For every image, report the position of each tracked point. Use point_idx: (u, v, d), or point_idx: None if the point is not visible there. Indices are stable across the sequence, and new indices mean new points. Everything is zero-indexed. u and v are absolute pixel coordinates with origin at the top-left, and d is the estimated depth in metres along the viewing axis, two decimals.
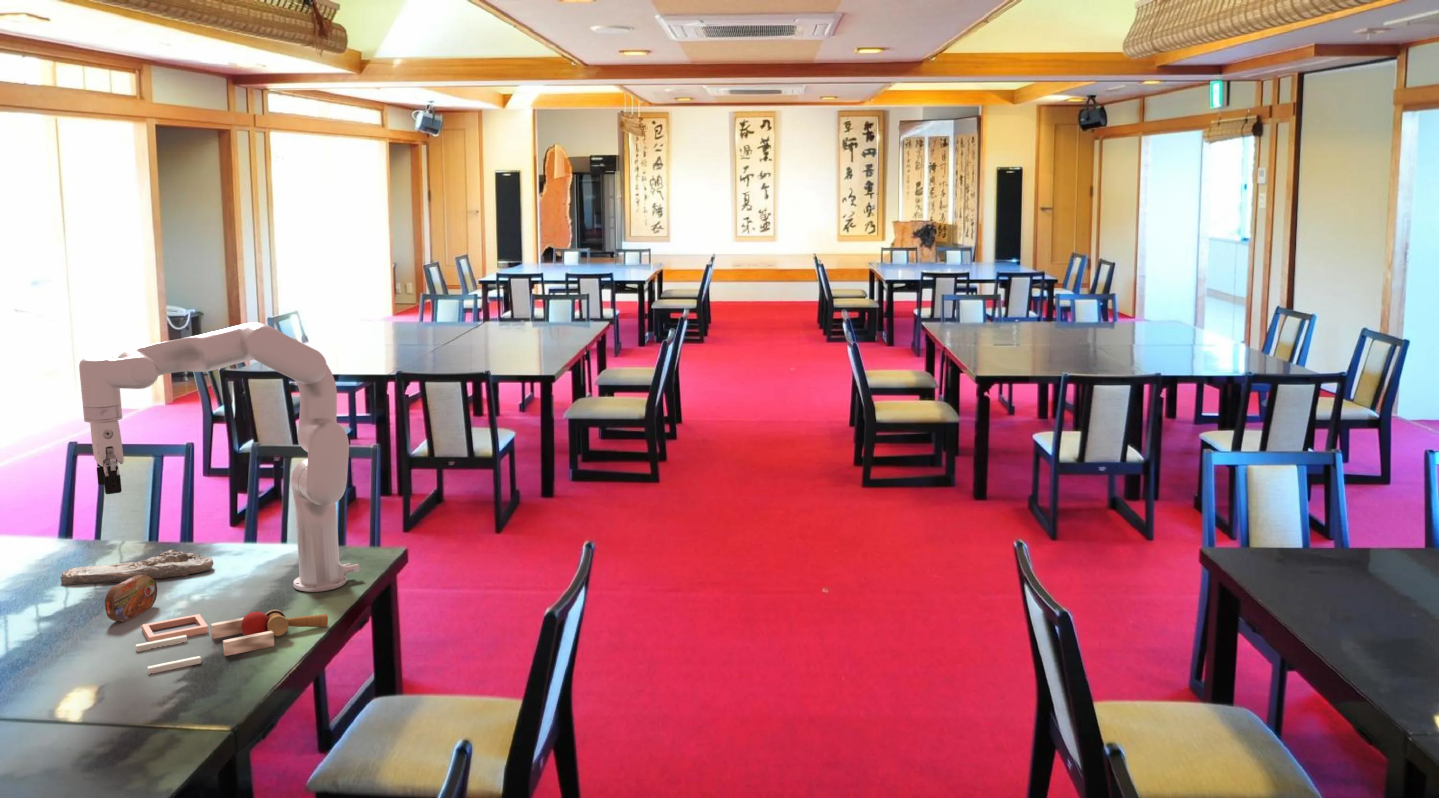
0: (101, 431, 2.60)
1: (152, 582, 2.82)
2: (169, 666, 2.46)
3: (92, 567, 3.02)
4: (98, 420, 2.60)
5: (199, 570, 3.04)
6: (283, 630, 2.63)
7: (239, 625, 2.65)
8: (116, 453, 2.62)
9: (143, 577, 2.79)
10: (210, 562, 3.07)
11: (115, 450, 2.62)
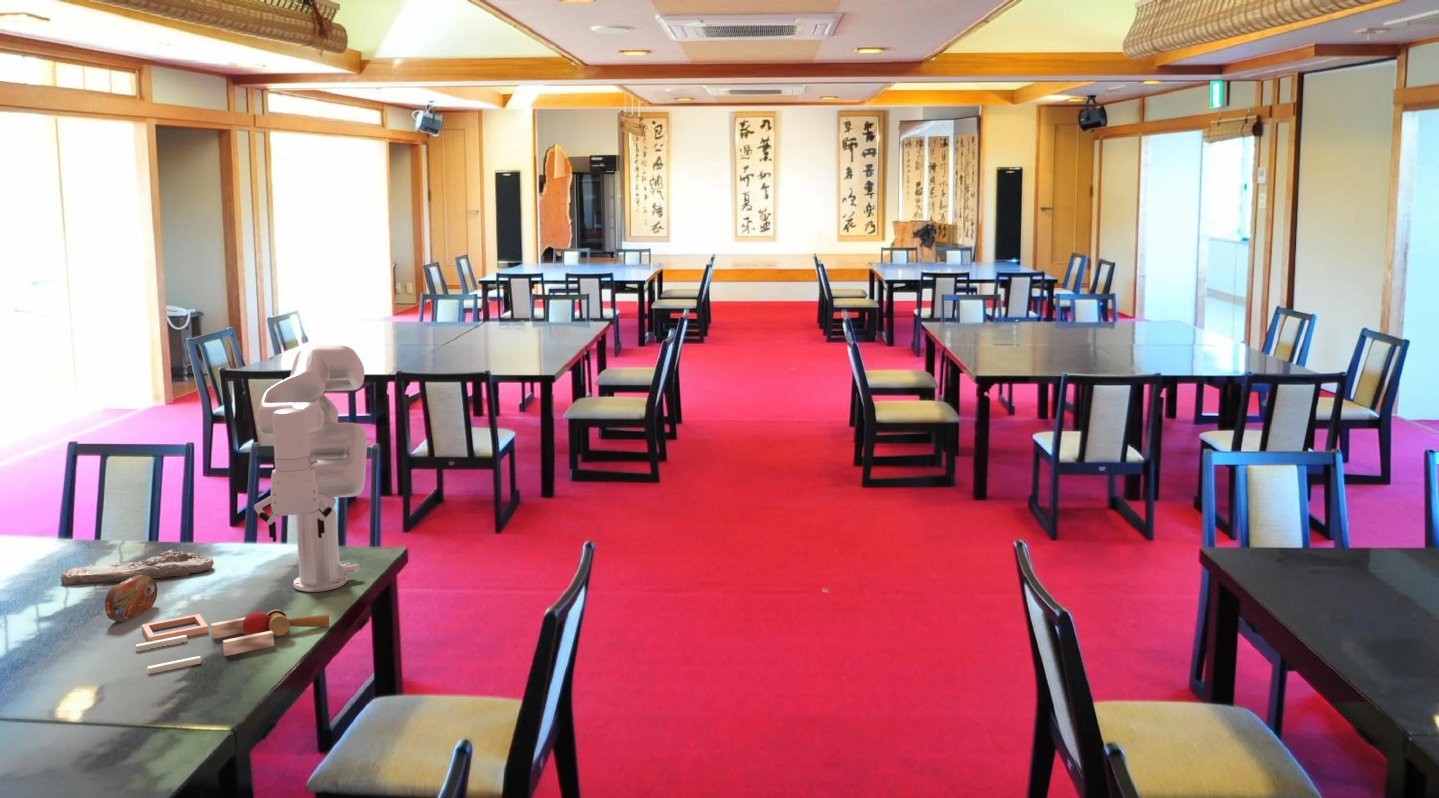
0: (315, 477, 2.68)
1: (152, 582, 2.82)
2: (169, 666, 2.46)
3: (92, 567, 3.02)
4: (309, 468, 2.67)
5: (199, 570, 3.05)
6: (285, 630, 2.63)
7: (239, 625, 2.65)
8: None
9: (143, 577, 2.79)
10: (210, 562, 3.07)
11: None
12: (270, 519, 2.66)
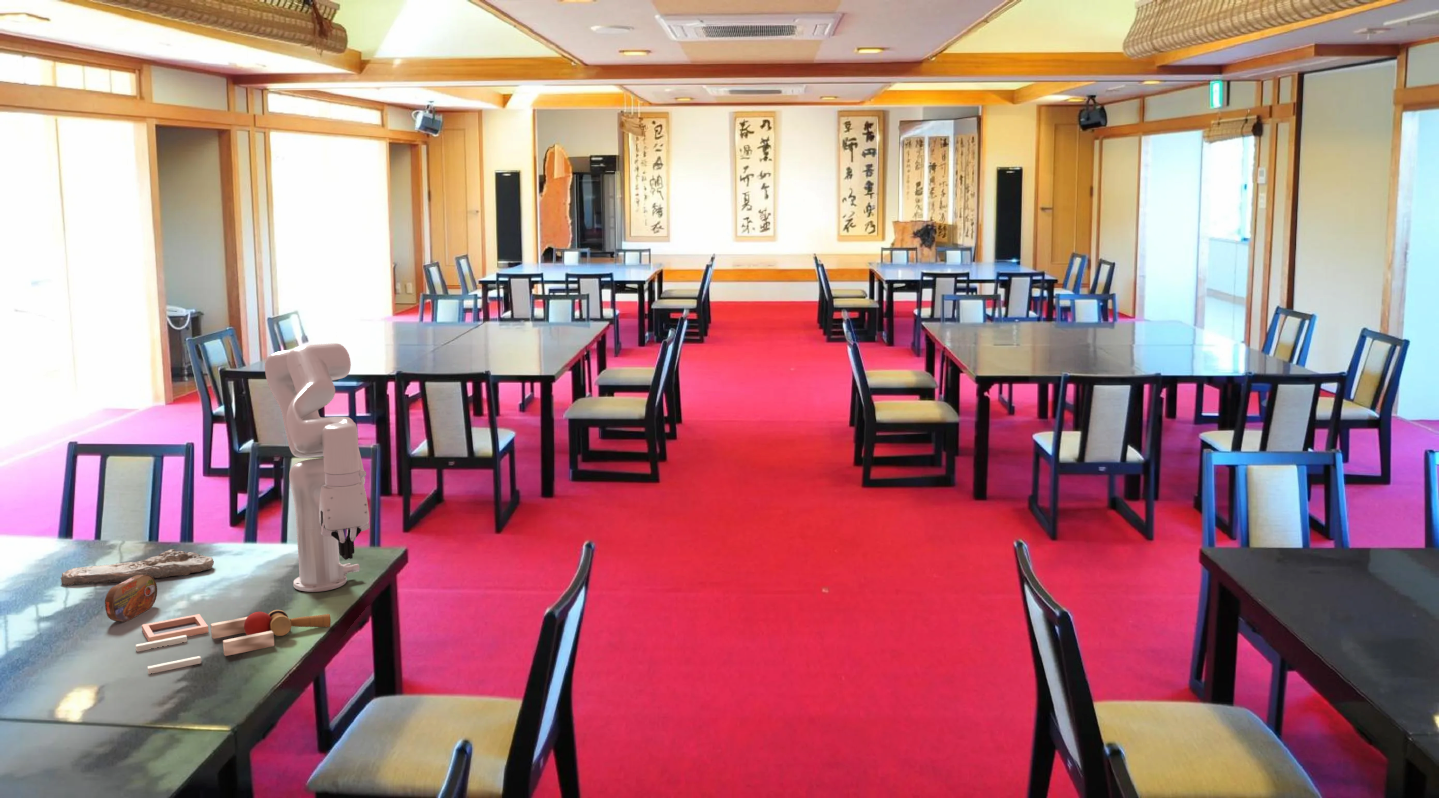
0: None
1: (152, 582, 2.82)
2: (169, 666, 2.46)
3: (92, 567, 3.01)
4: (360, 481, 2.69)
5: (199, 569, 3.05)
6: (286, 630, 2.63)
7: (239, 625, 2.65)
8: None
9: (143, 577, 2.79)
10: (211, 561, 3.07)
11: None
12: (340, 538, 2.69)
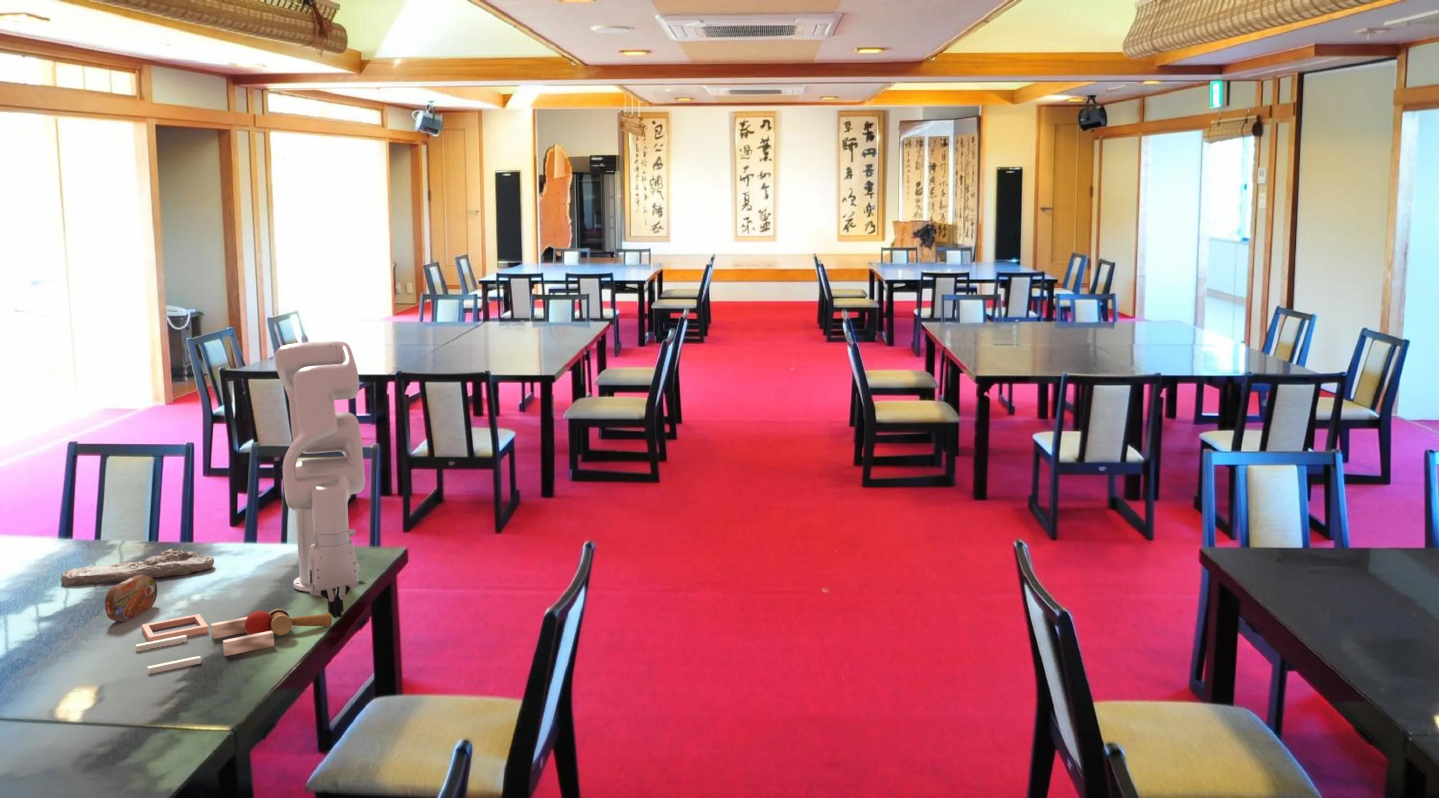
0: None
1: (152, 582, 2.82)
2: (169, 666, 2.46)
3: (92, 568, 3.01)
4: (349, 540, 2.70)
5: (200, 568, 3.06)
6: (287, 629, 2.63)
7: (239, 625, 2.65)
8: None
9: (143, 577, 2.79)
10: (211, 560, 3.08)
11: None
12: (330, 597, 2.69)
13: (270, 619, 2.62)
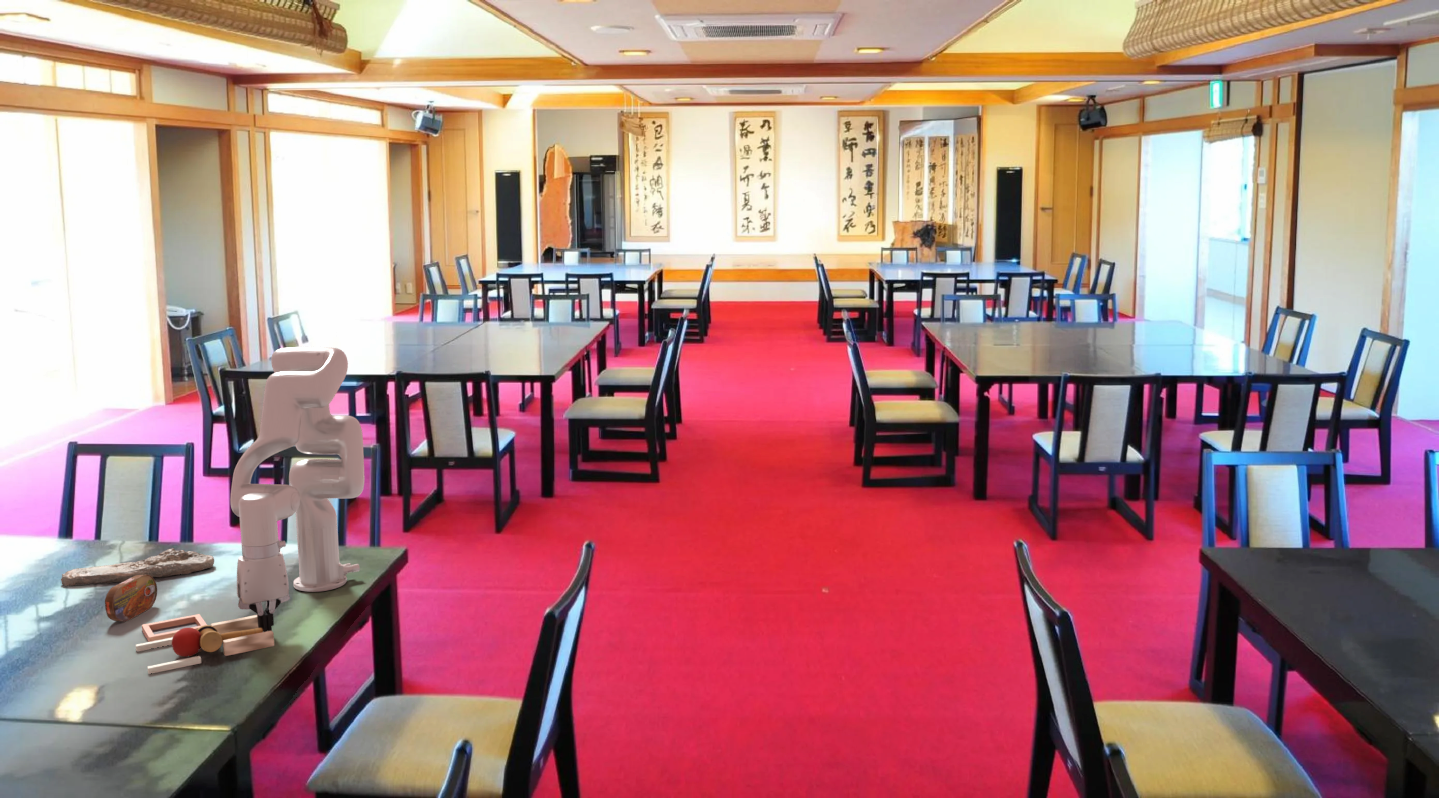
0: (284, 561, 2.62)
1: (152, 582, 2.82)
2: (169, 666, 2.46)
3: (92, 568, 3.01)
4: (279, 552, 2.61)
5: (201, 568, 3.06)
6: (217, 646, 2.53)
7: (239, 625, 2.65)
8: None
9: (143, 577, 2.79)
10: (212, 560, 3.09)
11: None
12: (259, 610, 2.61)
13: (199, 636, 2.53)
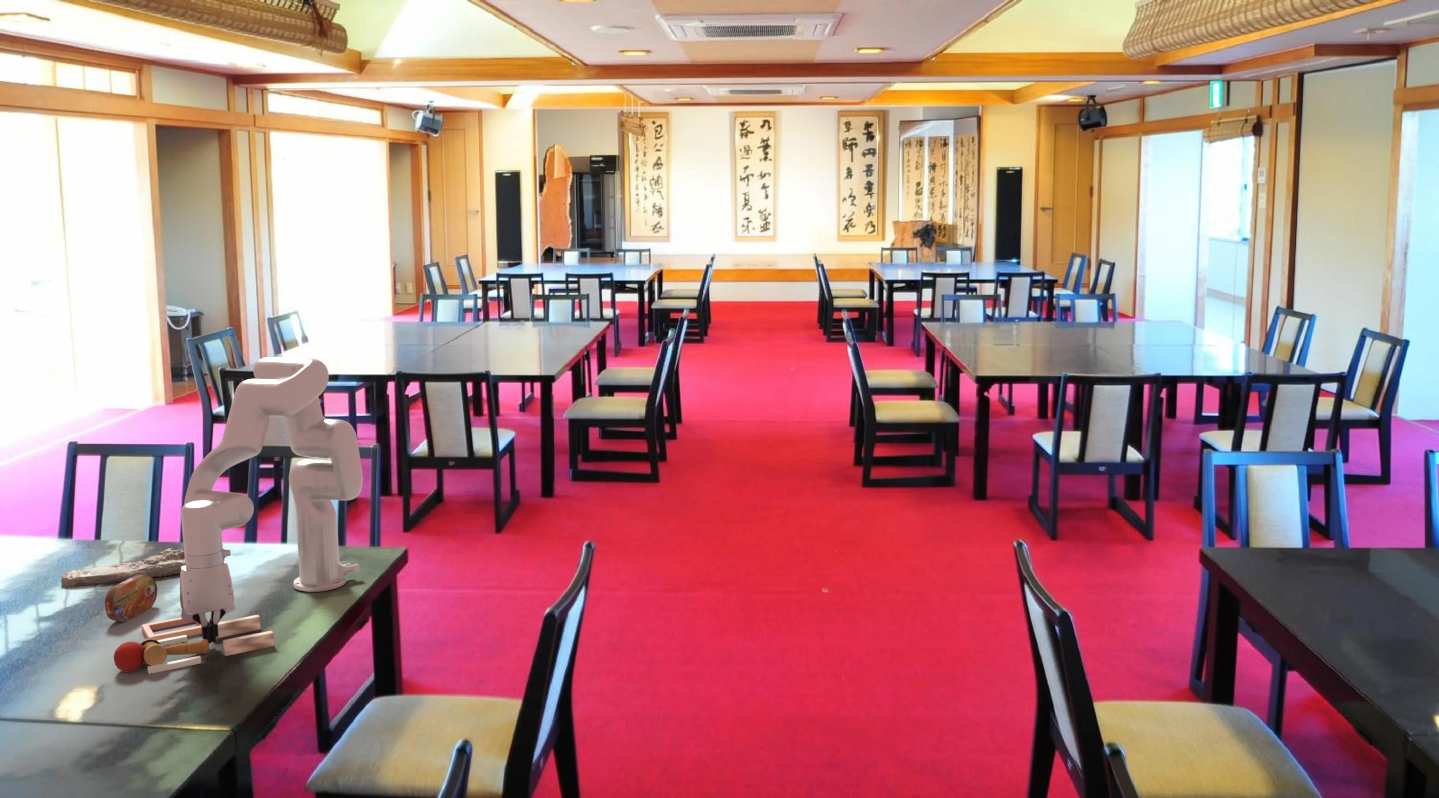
0: (229, 571, 2.56)
1: (152, 582, 2.82)
2: (169, 666, 2.46)
3: (91, 569, 3.01)
4: (223, 562, 2.55)
5: None
6: (161, 659, 2.46)
7: (239, 625, 2.65)
8: None
9: (143, 577, 2.79)
10: None
11: None
12: (202, 621, 2.54)
13: (142, 650, 2.45)
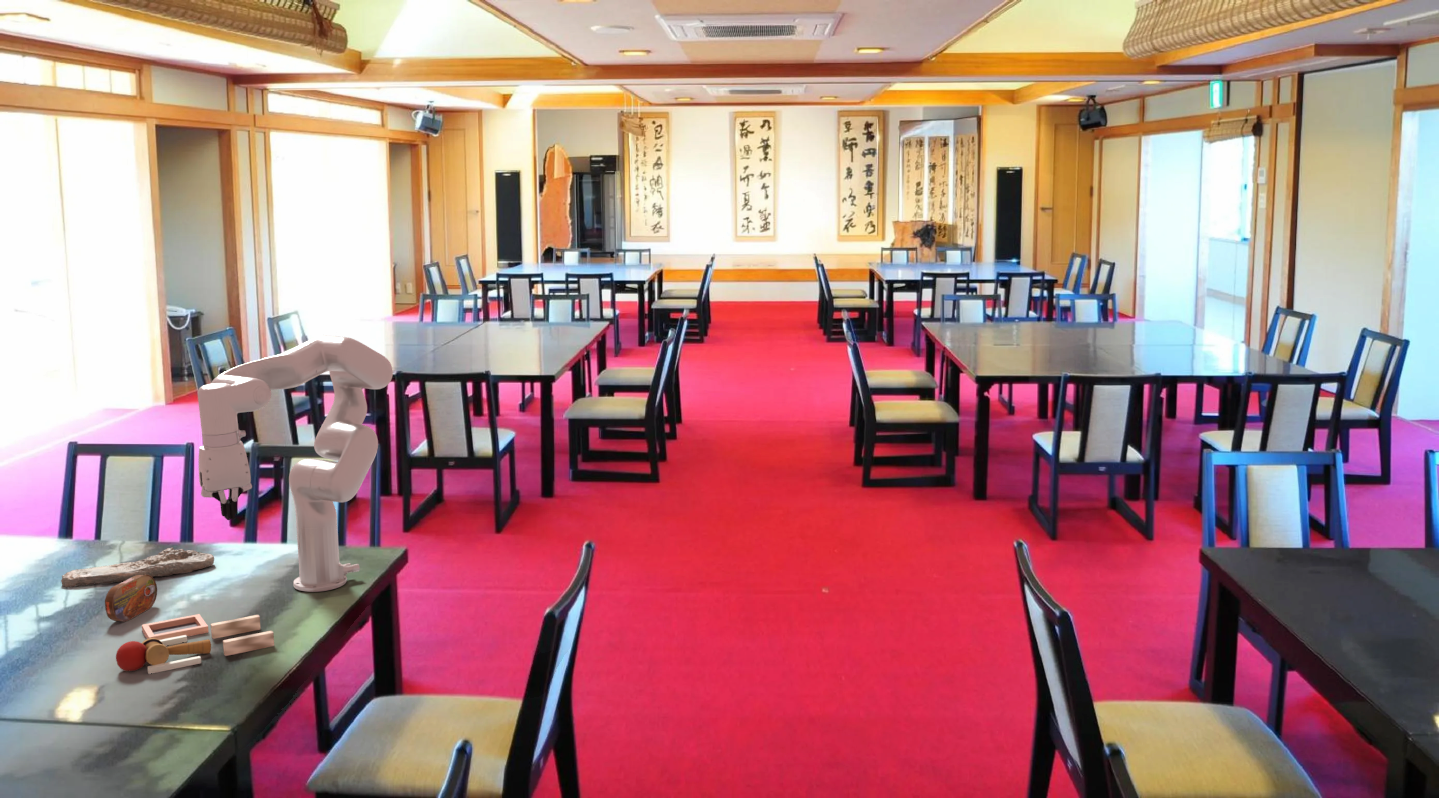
0: None
1: (152, 582, 2.82)
2: (169, 666, 2.46)
3: (91, 569, 3.00)
4: (239, 441, 2.67)
5: (202, 566, 3.08)
6: (163, 659, 2.47)
7: (239, 625, 2.65)
8: None
9: (143, 577, 2.79)
10: (212, 558, 3.10)
11: None
12: (222, 499, 2.67)
13: (144, 649, 2.46)
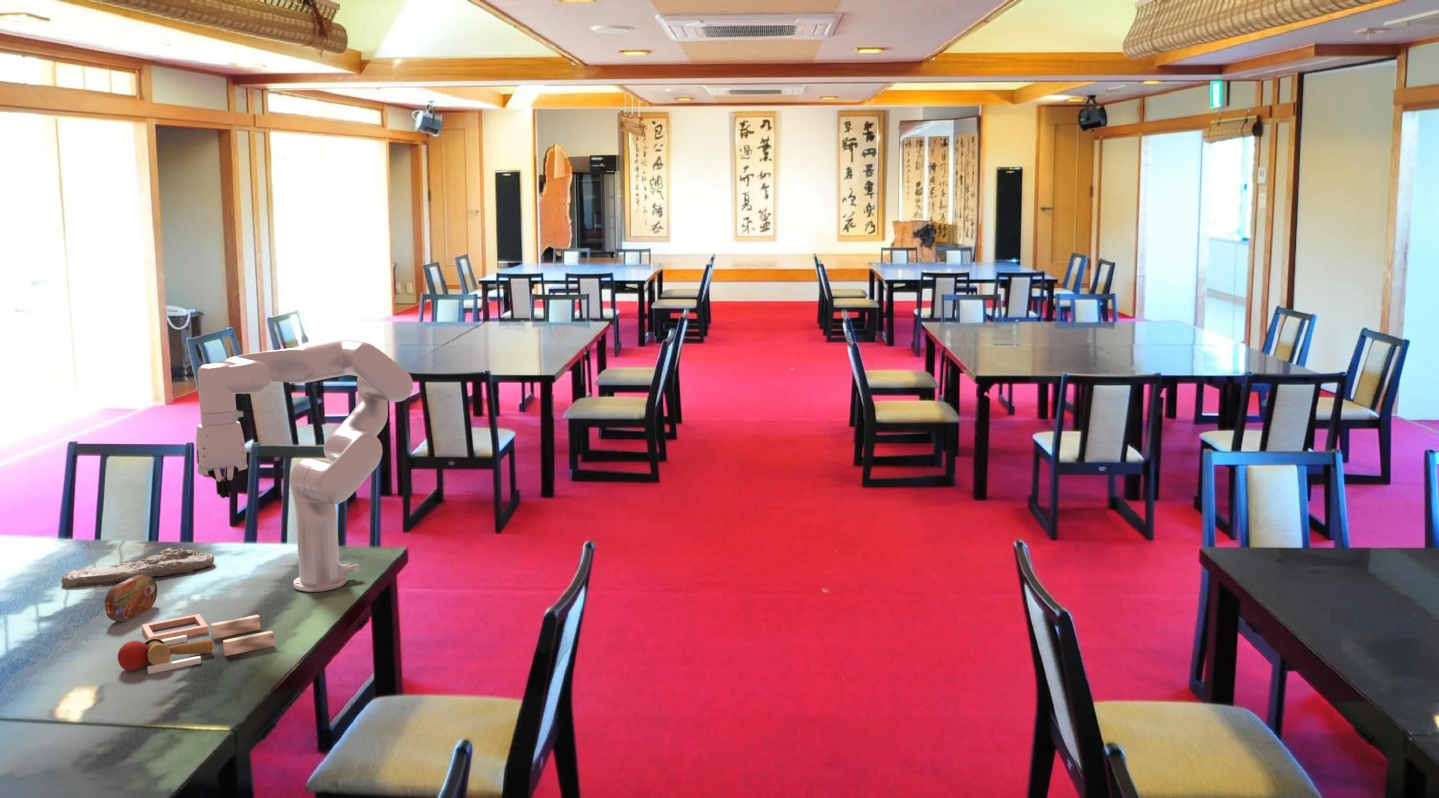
0: None
1: (152, 582, 2.82)
2: (169, 666, 2.46)
3: (91, 569, 3.00)
4: (236, 421, 2.73)
5: (202, 566, 3.08)
6: (165, 659, 2.47)
7: (239, 625, 2.65)
8: None
9: (143, 577, 2.79)
10: (212, 557, 3.10)
11: None
12: (217, 476, 2.73)
13: (146, 649, 2.46)
